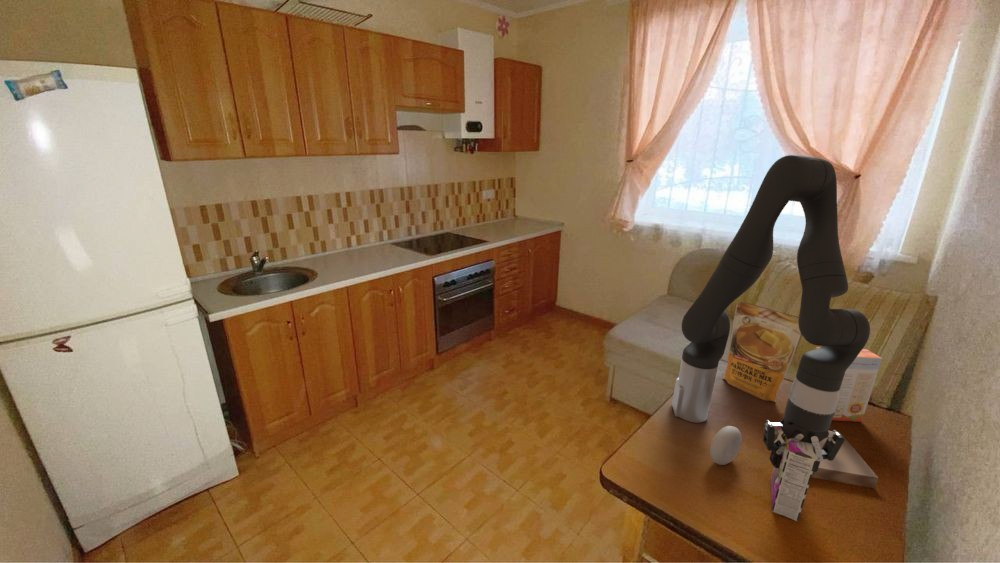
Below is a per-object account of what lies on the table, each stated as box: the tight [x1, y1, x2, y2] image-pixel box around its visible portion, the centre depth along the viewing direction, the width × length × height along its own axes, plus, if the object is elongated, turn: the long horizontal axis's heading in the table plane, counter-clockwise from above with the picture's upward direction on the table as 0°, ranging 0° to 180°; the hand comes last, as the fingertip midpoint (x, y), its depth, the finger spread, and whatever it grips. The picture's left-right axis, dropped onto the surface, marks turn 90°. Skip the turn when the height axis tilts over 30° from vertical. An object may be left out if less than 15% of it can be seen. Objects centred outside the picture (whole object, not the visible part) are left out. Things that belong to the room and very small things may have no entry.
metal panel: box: [771, 421, 880, 489], centre depth 100 cm, size 16×16×3 cm
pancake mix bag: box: [722, 301, 803, 403], centre depth 125 cm, size 7×19×28 cm, turn 34°
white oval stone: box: [709, 425, 743, 465], centre depth 97 cm, size 10×4×10 cm, turn 120°
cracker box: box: [814, 346, 883, 423], centre depth 113 cm, size 14×6×21 cm, turn 84°
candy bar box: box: [770, 437, 817, 522], centre depth 85 cm, size 11×5×16 cm, turn 148°
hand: (791, 468), depth 85 cm, fingers closed on candy bar box, 6 cm apart
